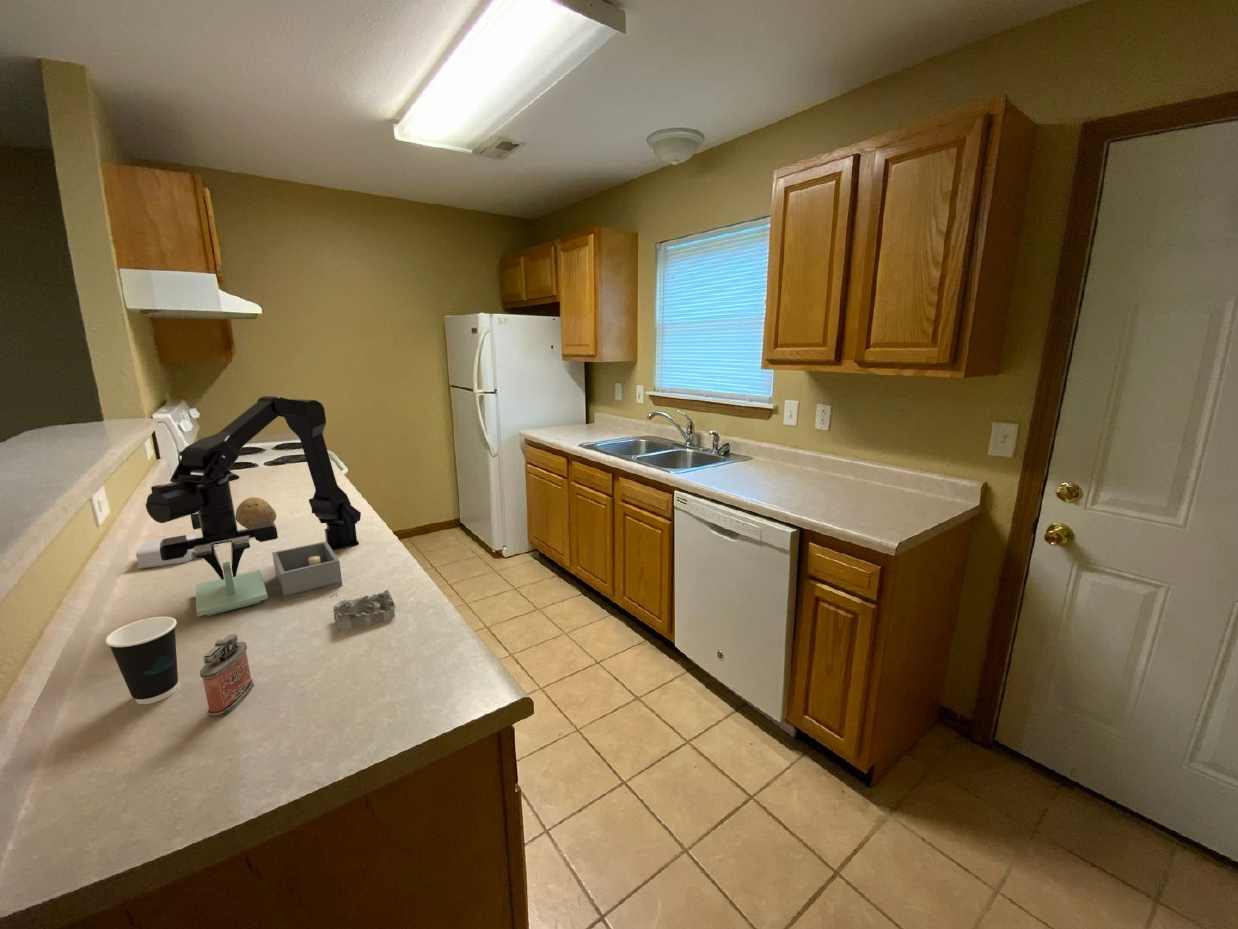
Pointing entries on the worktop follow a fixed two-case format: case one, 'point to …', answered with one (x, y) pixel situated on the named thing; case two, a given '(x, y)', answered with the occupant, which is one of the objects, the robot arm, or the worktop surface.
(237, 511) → the brown potato
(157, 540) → the charger
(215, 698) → the lighter
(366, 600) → the egg carton
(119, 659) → the dixie cup
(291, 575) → the tub
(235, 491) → the worktop surface
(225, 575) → the lid
